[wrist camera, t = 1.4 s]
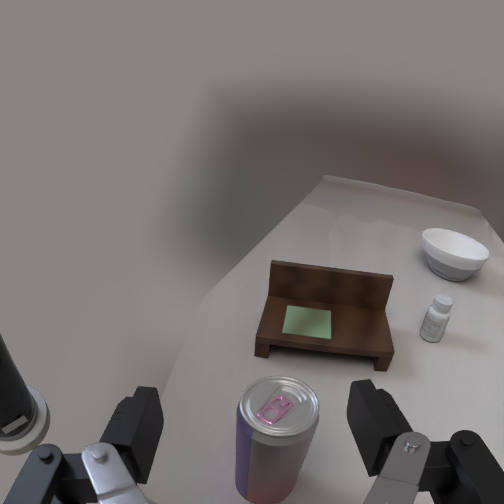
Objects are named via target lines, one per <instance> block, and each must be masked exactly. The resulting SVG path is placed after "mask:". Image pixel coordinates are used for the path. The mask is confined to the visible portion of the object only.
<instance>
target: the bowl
mask: <svg viewBox="0 0 504 504" xmlns="http://www.w3.org/2000/svg"><path fill="white" fill-rule="evenodd" d="M423 245H424V250H425V254H426V256H427V260H428V263H429V264H430V268H431V270H432V271H433V272H434V273H436V274H437V275H439V276H440V277H443V278H445V279H448V280H451V281H464V280H466V279H467V278H469V277H470V276H472V275H473V274H474V273H475V272H477V271H478V270H479V269H480V268H481V267H482V266H483V265H484V263H485V262H486V261H487V259H488V258H489V252H488V250H487V249H486V248H485V247H484V246H483V245H482V244H481V243H479V242H478V241H476V240H474V239H472V238H470V237H468V236H466V235H463V234H461V233H458V232H454V231H451V230H446V229H439V228H430V229H426V230H424V232H423Z"/></svg>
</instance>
